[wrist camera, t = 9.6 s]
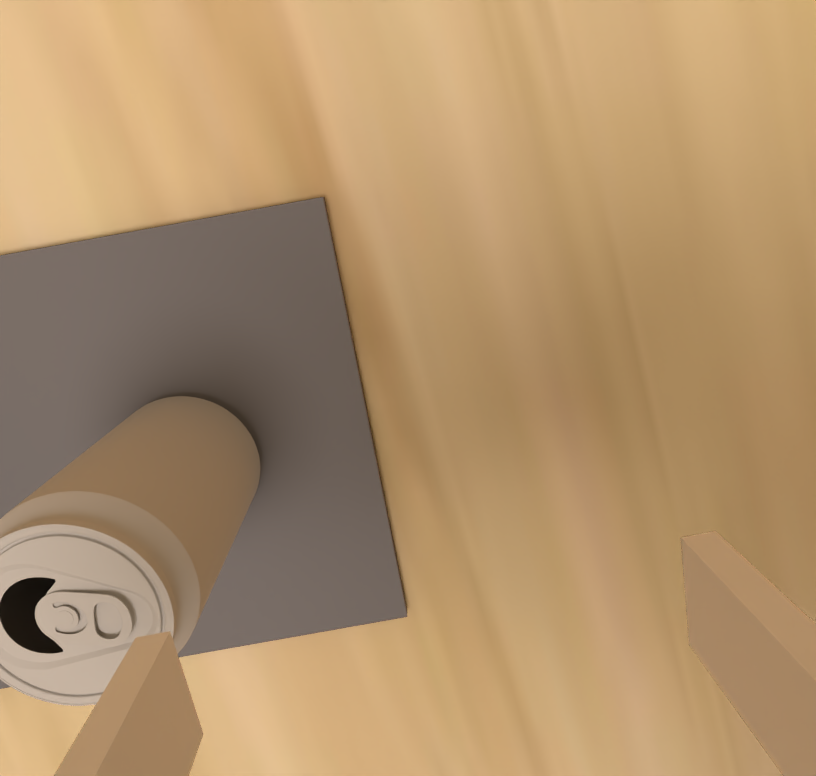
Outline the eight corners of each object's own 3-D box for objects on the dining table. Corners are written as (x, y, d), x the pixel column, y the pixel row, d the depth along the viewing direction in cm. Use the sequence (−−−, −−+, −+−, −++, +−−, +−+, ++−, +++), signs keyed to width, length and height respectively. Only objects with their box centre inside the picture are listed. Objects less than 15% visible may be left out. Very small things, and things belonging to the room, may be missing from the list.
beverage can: (114, 388, 28) (-77, 510, 16) (263, 393, 28) (180, 515, 17) (125, 522, 29) (-42, 719, 18) (265, 525, 30) (191, 721, 18)
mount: (406, 609, 32) (413, 707, 26) (-143, 706, 32) (-273, 828, 26) (324, 197, 27) (306, 191, 20) (-331, 316, 27) (-553, 347, 20)
